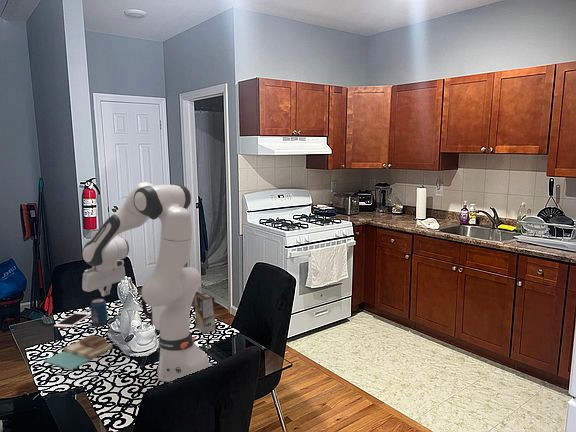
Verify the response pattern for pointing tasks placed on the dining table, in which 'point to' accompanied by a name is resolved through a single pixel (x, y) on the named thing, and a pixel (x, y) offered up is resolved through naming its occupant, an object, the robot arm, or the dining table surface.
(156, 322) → the coffee press
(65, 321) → the cell phone
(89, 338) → the tile
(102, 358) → the dining table surface
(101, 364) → the dining table surface
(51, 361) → the mat
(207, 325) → the coffee box
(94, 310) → the soda can
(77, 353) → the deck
